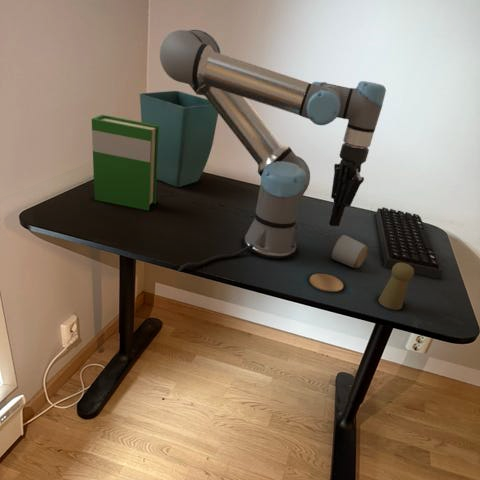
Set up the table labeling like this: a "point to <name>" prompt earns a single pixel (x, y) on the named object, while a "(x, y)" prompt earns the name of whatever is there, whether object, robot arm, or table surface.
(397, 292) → the pepper shaker
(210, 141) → the flower pot
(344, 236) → the ceramic mug
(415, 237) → the computer keyboard
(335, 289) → the cork coaster
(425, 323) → the table surface
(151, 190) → the hardback book
